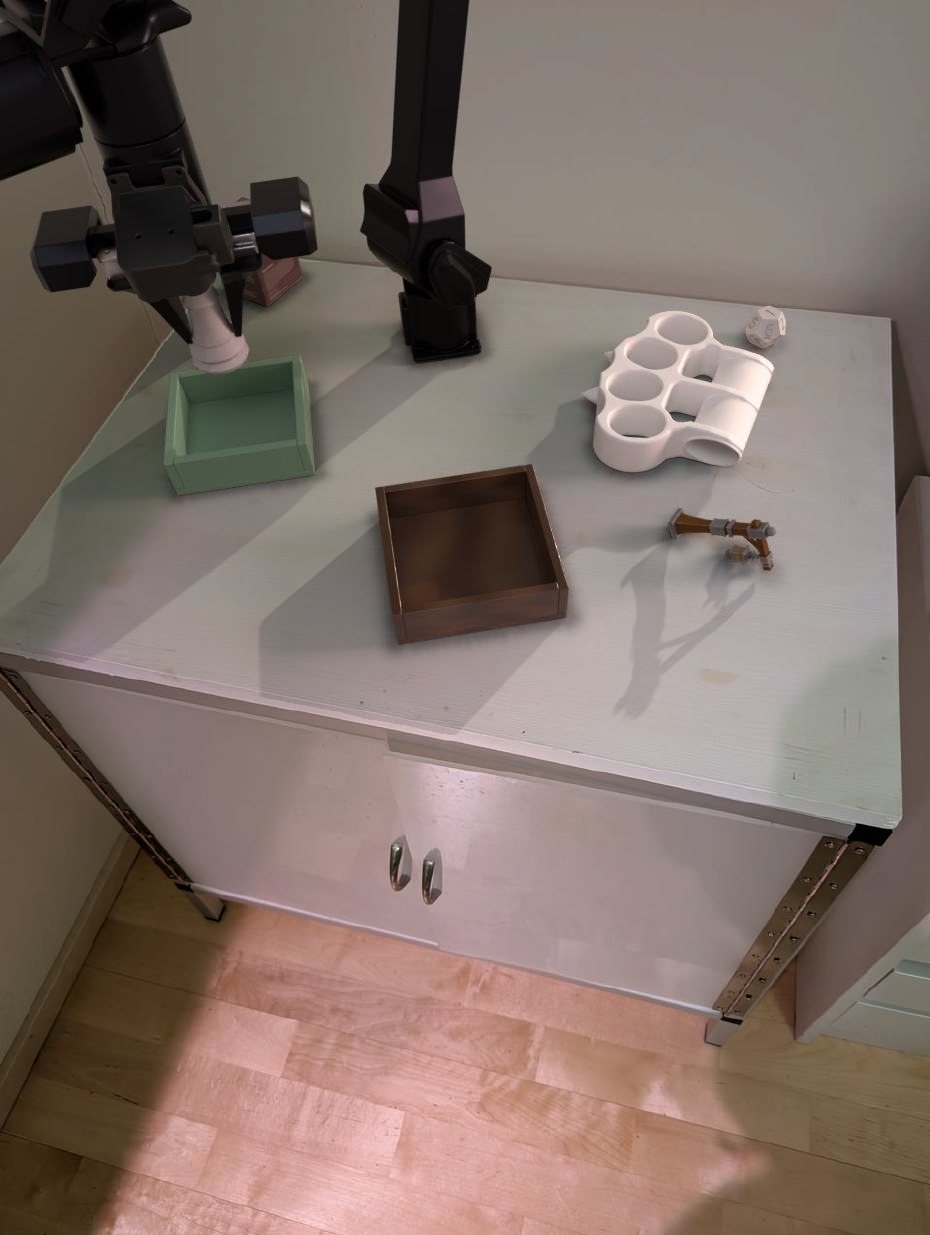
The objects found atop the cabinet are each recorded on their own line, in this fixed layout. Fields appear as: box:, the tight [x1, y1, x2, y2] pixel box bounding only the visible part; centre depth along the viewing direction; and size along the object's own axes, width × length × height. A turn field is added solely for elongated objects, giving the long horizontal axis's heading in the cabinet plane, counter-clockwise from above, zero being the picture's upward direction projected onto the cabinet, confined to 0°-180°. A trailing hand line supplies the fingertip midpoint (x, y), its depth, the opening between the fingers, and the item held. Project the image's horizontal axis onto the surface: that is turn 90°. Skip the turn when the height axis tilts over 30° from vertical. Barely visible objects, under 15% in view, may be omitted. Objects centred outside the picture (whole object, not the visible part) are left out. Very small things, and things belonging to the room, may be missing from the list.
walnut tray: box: [374, 463, 570, 645], centre depth 63 cm, size 12×12×4 cm
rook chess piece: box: [180, 273, 250, 375], centre depth 63 cm, size 4×4×8 cm
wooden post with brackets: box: [667, 506, 777, 572], centre depth 62 cm, size 2×8×4 cm, turn 55°
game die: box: [745, 304, 787, 350], centre depth 76 cm, size 4×4×3 cm
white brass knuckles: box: [579, 310, 775, 473], centre depth 72 cm, size 3×18×15 cm
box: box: [218, 196, 303, 307], centre depth 84 cm, size 6×6×7 cm
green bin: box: [162, 354, 316, 496], centre depth 72 cm, size 12×12×4 cm
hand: (214, 337), depth 64 cm, fingers closed on rook chess piece, 3 cm apart
